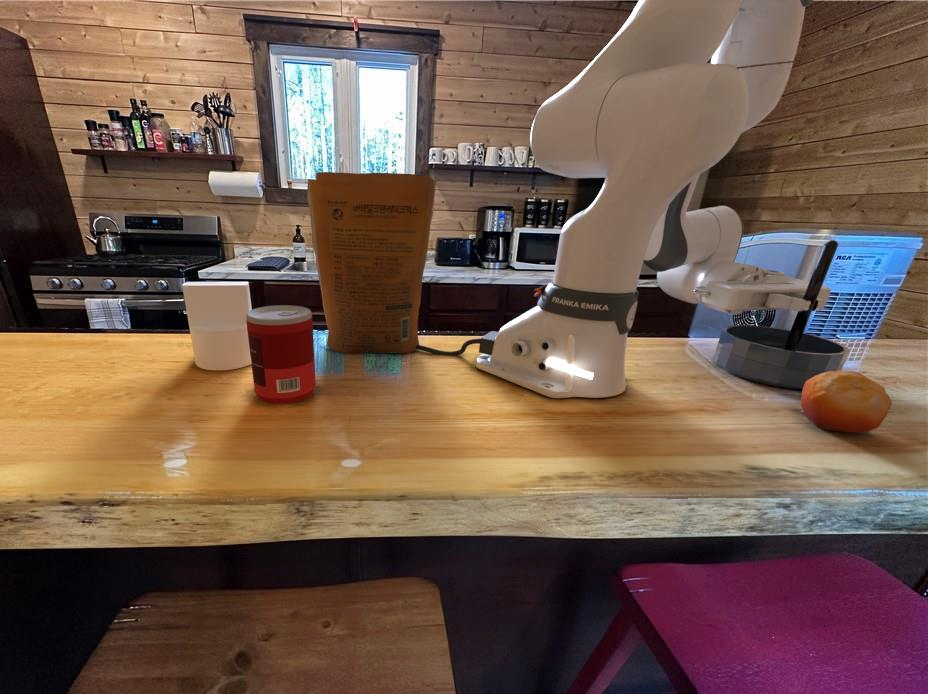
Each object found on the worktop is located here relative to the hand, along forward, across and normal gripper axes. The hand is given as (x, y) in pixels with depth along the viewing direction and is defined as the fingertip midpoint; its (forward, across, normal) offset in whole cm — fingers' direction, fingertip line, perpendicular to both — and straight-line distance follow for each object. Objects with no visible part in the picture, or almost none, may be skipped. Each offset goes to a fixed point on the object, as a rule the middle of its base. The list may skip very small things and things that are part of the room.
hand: (813, 306), depth 67 cm
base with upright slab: (-19, -89, +12) cm, 91 cm away
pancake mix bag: (-21, -65, +12) cm, 69 cm away
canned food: (-5, -79, +12) cm, 80 cm away
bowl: (-2, -1, +12) cm, 12 cm away
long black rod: (-1, 0, +10) cm, 10 cm away
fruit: (+15, -12, +12) cm, 23 cm away
